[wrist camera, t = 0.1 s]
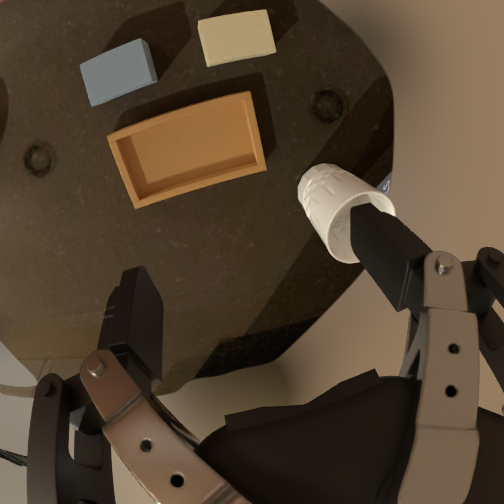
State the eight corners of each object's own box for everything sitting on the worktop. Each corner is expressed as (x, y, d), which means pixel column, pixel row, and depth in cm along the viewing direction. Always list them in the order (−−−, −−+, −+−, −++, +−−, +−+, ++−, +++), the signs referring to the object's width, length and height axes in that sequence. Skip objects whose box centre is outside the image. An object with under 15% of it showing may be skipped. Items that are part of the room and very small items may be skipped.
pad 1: (93, 66, 20) (79, 64, 17) (147, 43, 20) (140, 37, 17) (104, 103, 23) (91, 106, 19) (158, 81, 23) (152, 81, 20)
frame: (111, 133, 25) (106, 136, 23) (247, 90, 25) (250, 90, 24) (137, 202, 30) (135, 209, 28) (263, 165, 30) (266, 170, 29)
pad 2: (197, 28, 20) (198, 20, 17) (257, 17, 20) (266, 9, 17) (207, 67, 23) (209, 64, 20) (266, 55, 23) (276, 52, 20)
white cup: (356, 162, 32) (406, 196, 24) (341, 218, 36) (380, 262, 28) (298, 154, 30) (339, 186, 22) (286, 215, 34) (317, 264, 26)
